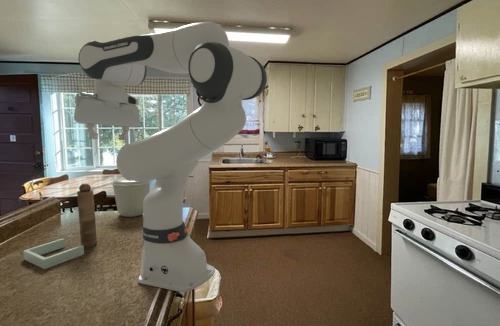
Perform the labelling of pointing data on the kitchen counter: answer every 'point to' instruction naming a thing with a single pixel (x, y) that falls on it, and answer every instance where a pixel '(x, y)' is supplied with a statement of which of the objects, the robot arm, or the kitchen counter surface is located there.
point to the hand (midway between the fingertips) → (108, 139)
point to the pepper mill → (86, 215)
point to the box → (35, 252)
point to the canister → (130, 196)
